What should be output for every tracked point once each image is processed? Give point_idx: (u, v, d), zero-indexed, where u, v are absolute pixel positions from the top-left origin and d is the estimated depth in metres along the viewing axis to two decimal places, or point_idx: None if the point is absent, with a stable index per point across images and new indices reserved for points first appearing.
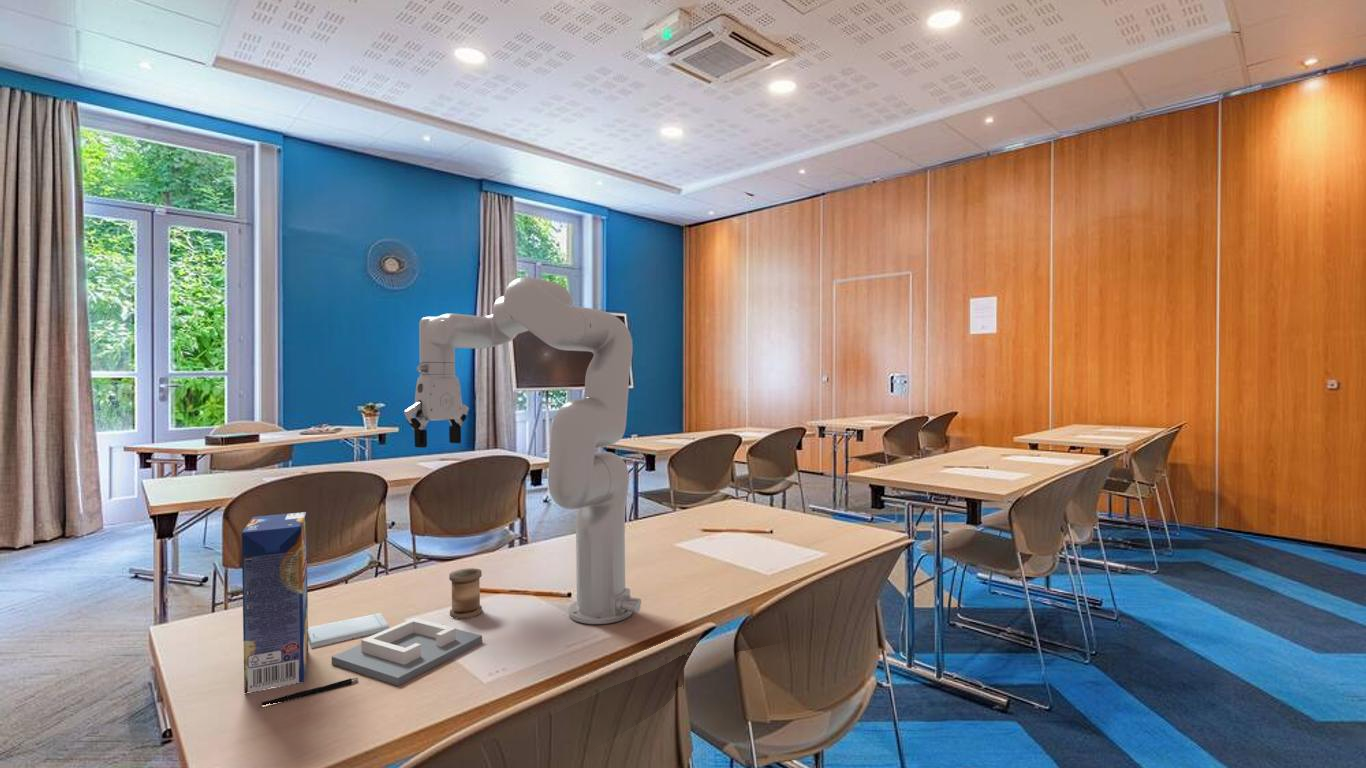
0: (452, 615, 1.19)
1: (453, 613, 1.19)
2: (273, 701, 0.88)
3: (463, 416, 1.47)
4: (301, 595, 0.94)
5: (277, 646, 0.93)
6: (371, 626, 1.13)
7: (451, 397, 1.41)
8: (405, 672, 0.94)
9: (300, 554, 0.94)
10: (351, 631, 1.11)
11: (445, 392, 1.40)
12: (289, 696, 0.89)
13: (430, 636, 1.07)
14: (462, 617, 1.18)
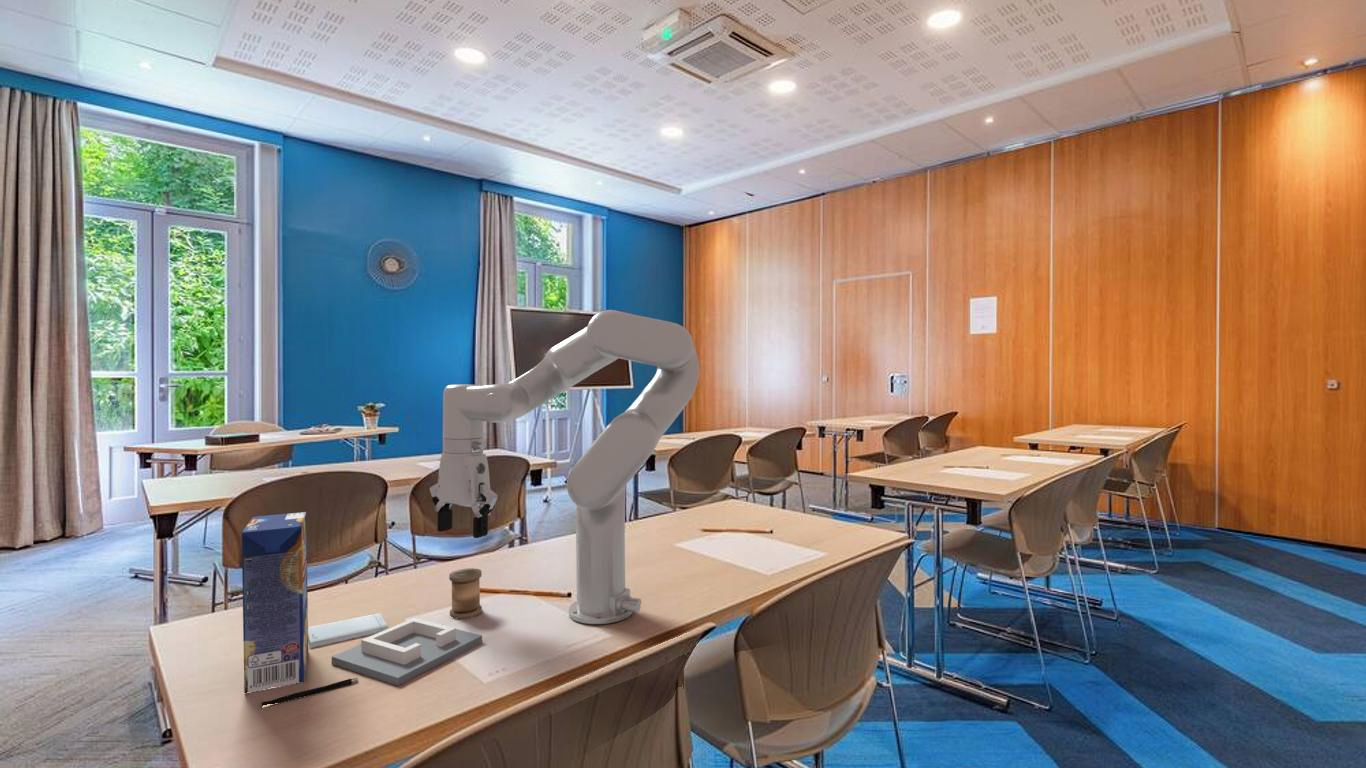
0: (452, 615, 1.19)
1: (453, 613, 1.19)
2: (273, 701, 0.88)
3: None
4: (301, 595, 0.94)
5: (277, 646, 0.93)
6: (370, 626, 1.13)
7: None
8: (405, 672, 0.94)
9: (300, 554, 0.94)
10: (350, 631, 1.11)
11: None
12: (289, 696, 0.89)
13: (430, 636, 1.07)
14: (462, 617, 1.18)
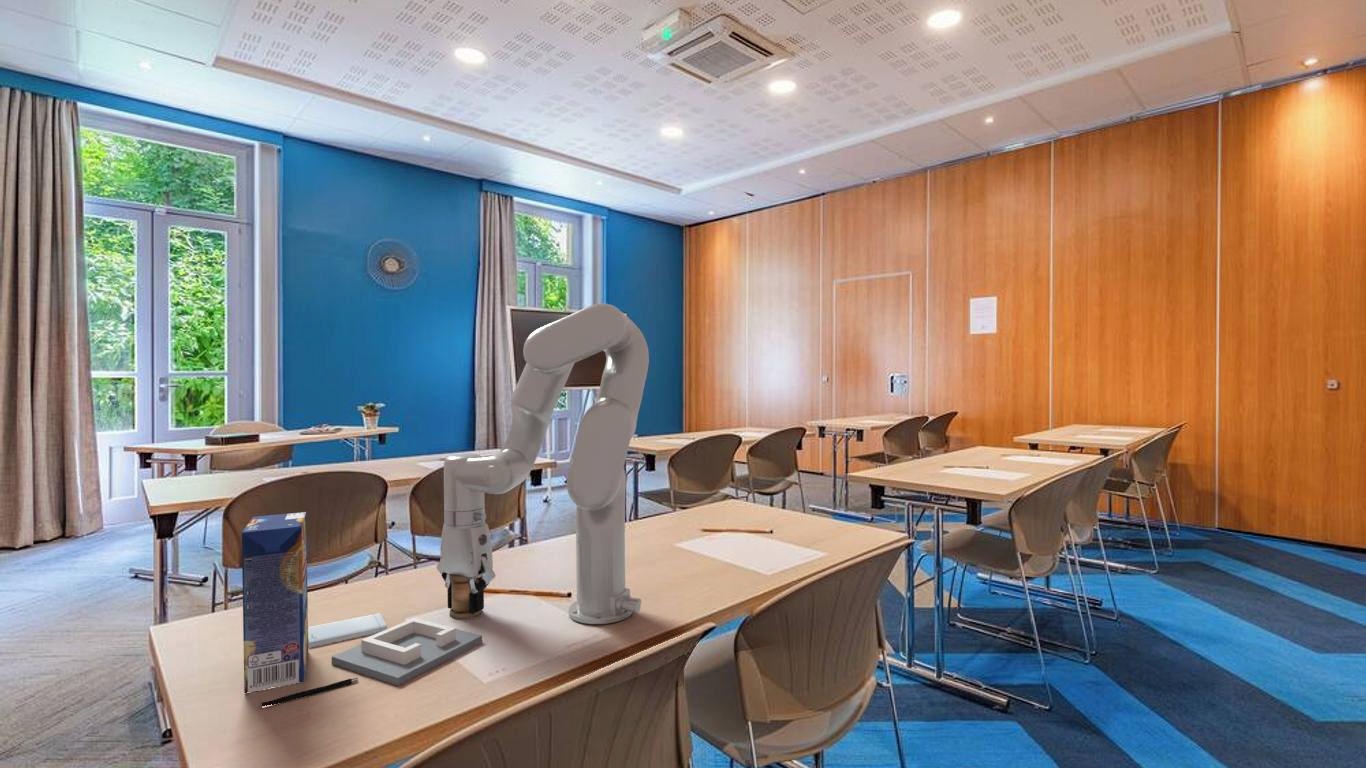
0: (452, 615, 1.19)
1: (453, 613, 1.19)
2: (273, 701, 0.88)
3: None
4: (301, 595, 0.94)
5: (277, 646, 0.93)
6: (369, 626, 1.13)
7: None
8: (405, 672, 0.94)
9: (300, 554, 0.94)
10: (349, 631, 1.11)
11: None
12: (289, 696, 0.89)
13: (430, 636, 1.07)
14: (462, 617, 1.18)
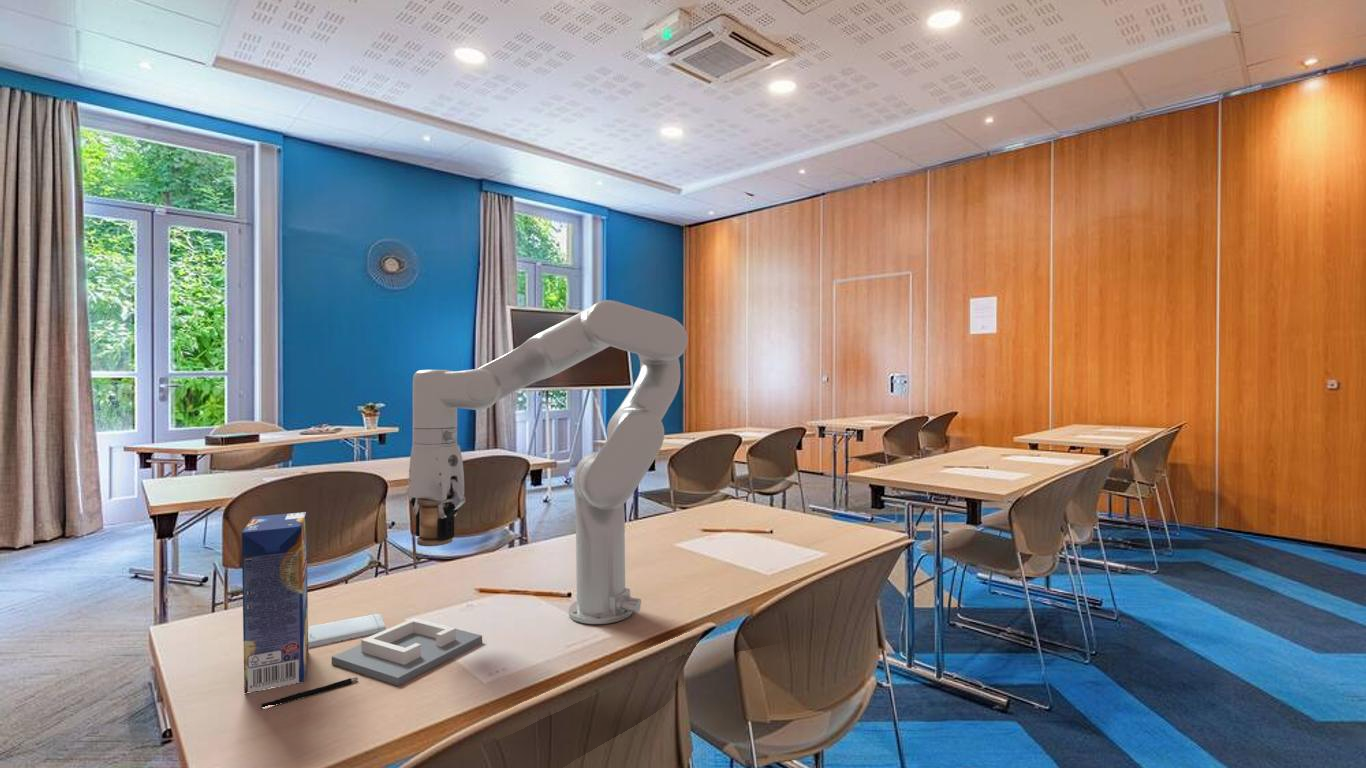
0: (419, 542, 1.10)
1: (420, 540, 1.10)
2: (273, 702, 0.87)
3: None
4: (301, 595, 0.94)
5: (277, 646, 0.93)
6: (368, 626, 1.13)
7: None
8: (405, 672, 0.94)
9: (300, 554, 0.94)
10: (347, 631, 1.11)
11: None
12: (289, 697, 0.89)
13: (430, 636, 1.07)
14: (429, 544, 1.09)
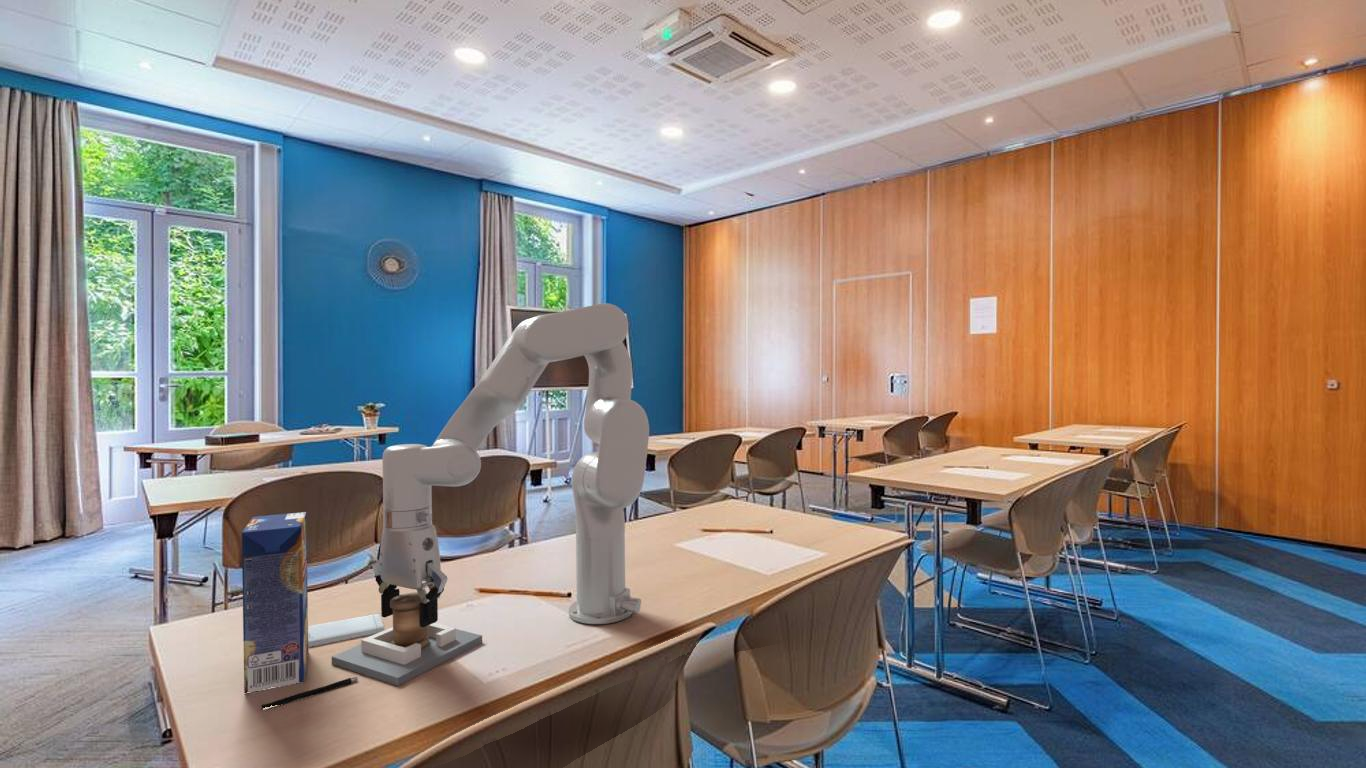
0: None
1: None
2: (274, 703, 0.87)
3: None
4: (301, 595, 0.94)
5: (277, 646, 0.93)
6: (366, 627, 1.13)
7: None
8: (405, 672, 0.94)
9: (300, 554, 0.94)
10: (346, 631, 1.11)
11: None
12: (289, 698, 0.89)
13: (430, 636, 1.07)
14: None
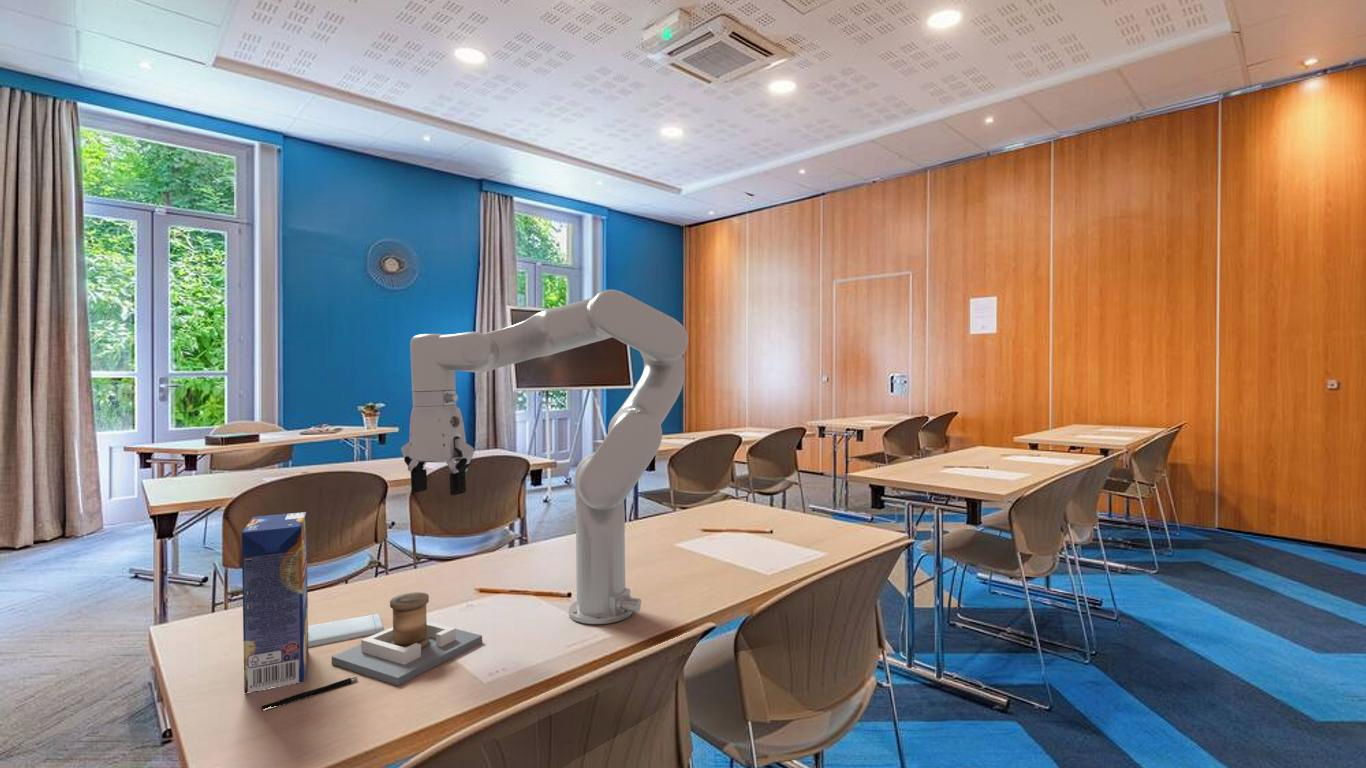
0: None
1: None
2: (274, 704, 0.87)
3: None
4: (301, 595, 0.94)
5: (277, 646, 0.93)
6: (365, 627, 1.13)
7: None
8: (405, 672, 0.94)
9: (300, 554, 0.94)
10: (344, 631, 1.11)
11: None
12: (290, 698, 0.89)
13: (430, 636, 1.07)
14: None
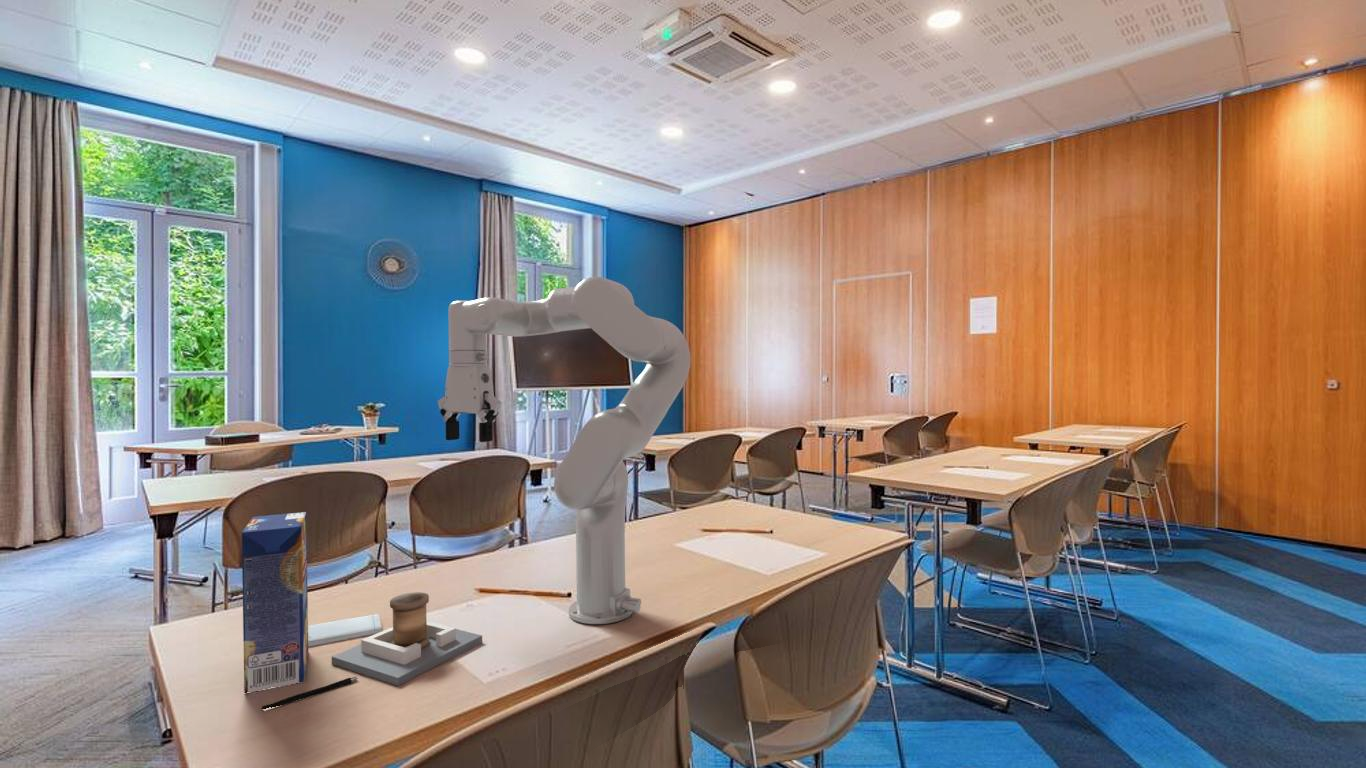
0: None
1: None
2: (274, 704, 0.87)
3: None
4: (301, 595, 0.94)
5: (277, 646, 0.93)
6: (365, 627, 1.12)
7: None
8: (405, 672, 0.94)
9: (300, 554, 0.94)
10: (344, 631, 1.11)
11: None
12: (290, 699, 0.88)
13: (430, 636, 1.07)
14: None
